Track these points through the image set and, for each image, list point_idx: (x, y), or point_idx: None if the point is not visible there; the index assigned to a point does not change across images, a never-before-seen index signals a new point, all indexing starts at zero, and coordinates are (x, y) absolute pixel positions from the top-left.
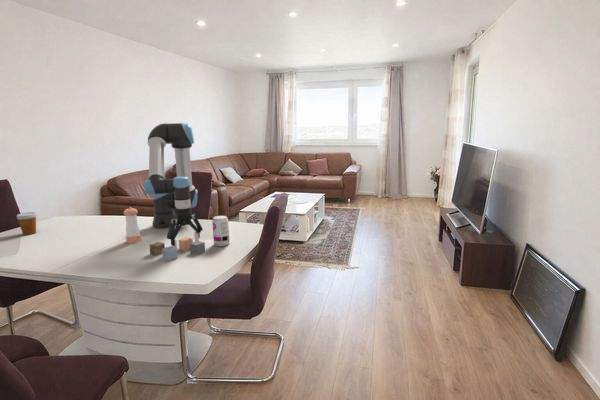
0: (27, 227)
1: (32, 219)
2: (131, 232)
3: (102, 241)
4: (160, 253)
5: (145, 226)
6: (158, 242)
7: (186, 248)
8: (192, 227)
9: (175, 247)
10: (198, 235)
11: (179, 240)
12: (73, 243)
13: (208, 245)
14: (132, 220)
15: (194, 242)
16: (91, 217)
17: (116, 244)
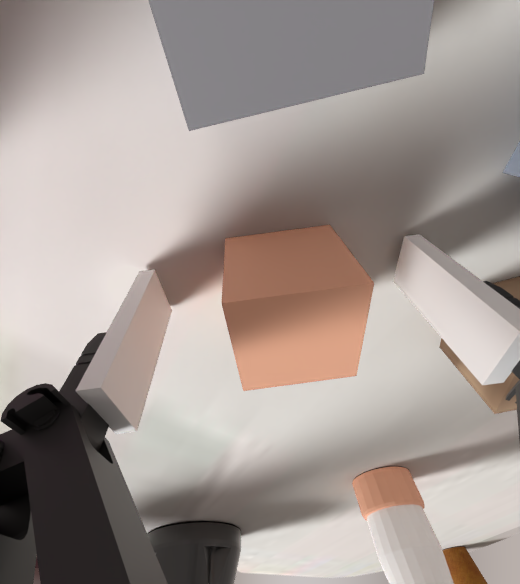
0: (474, 571)
1: None
2: (429, 533)
3: (432, 500)
4: (507, 285)
5: (254, 538)
6: (515, 397)
7: (313, 234)
8: (140, 548)
9: (451, 260)
10: (96, 354)
11: (356, 356)
12: (479, 508)
13: (33, 192)
14: None
15: (310, 61)
16: (312, 573)
17: (439, 475)
